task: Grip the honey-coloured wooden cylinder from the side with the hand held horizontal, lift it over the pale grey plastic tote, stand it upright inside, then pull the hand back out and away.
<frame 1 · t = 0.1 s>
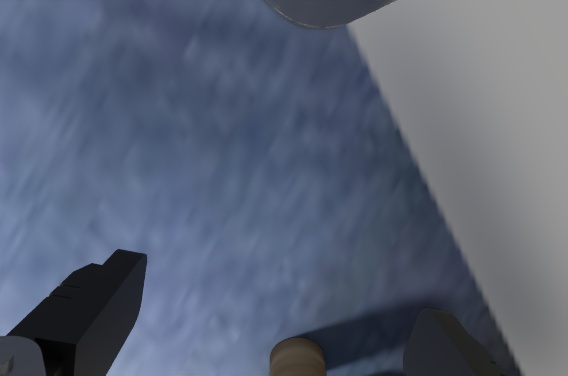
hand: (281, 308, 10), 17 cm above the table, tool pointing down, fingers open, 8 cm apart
wooden cylinder: (296, 358, 33), on the table
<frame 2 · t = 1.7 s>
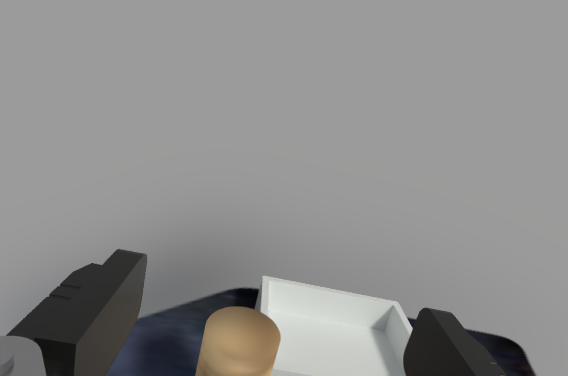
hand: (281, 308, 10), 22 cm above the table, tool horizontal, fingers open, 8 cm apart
tote: (329, 365, 39), on the table
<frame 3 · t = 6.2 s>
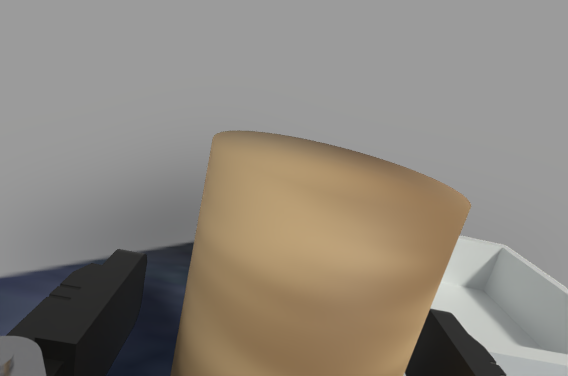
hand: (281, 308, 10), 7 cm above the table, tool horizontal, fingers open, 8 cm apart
tote: (419, 337, 23), on the table
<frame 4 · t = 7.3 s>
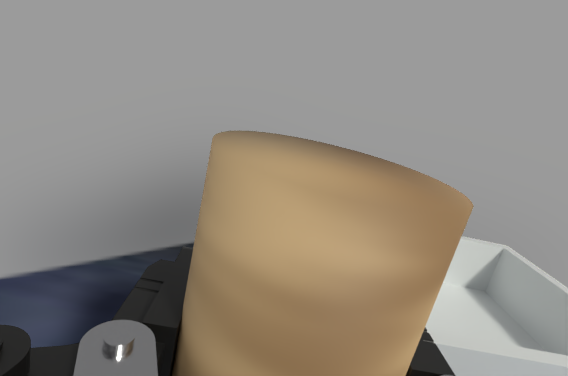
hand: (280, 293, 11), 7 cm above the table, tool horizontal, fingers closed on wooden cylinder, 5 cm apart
tote: (421, 338, 23), on the table
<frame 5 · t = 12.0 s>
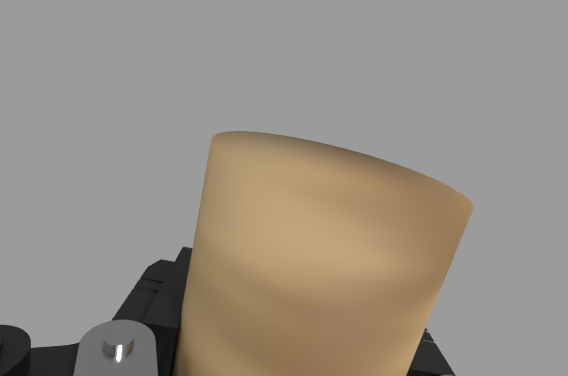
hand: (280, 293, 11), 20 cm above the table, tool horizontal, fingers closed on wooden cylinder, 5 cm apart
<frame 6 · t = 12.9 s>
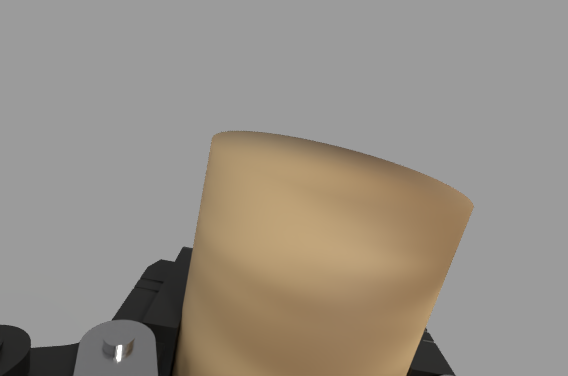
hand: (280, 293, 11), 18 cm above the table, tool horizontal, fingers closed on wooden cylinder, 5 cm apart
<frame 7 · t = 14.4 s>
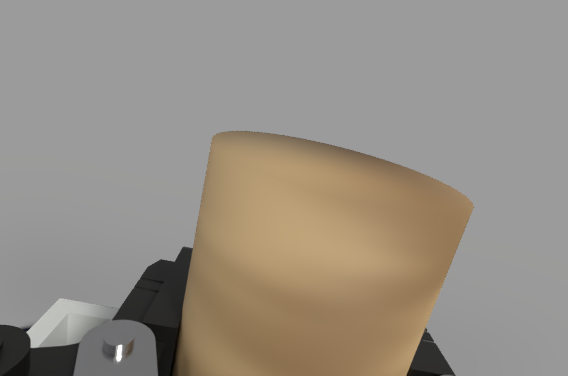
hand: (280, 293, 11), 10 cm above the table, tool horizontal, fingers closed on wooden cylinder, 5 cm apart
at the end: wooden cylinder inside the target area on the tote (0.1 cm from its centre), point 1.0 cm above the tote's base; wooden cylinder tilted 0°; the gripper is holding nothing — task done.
